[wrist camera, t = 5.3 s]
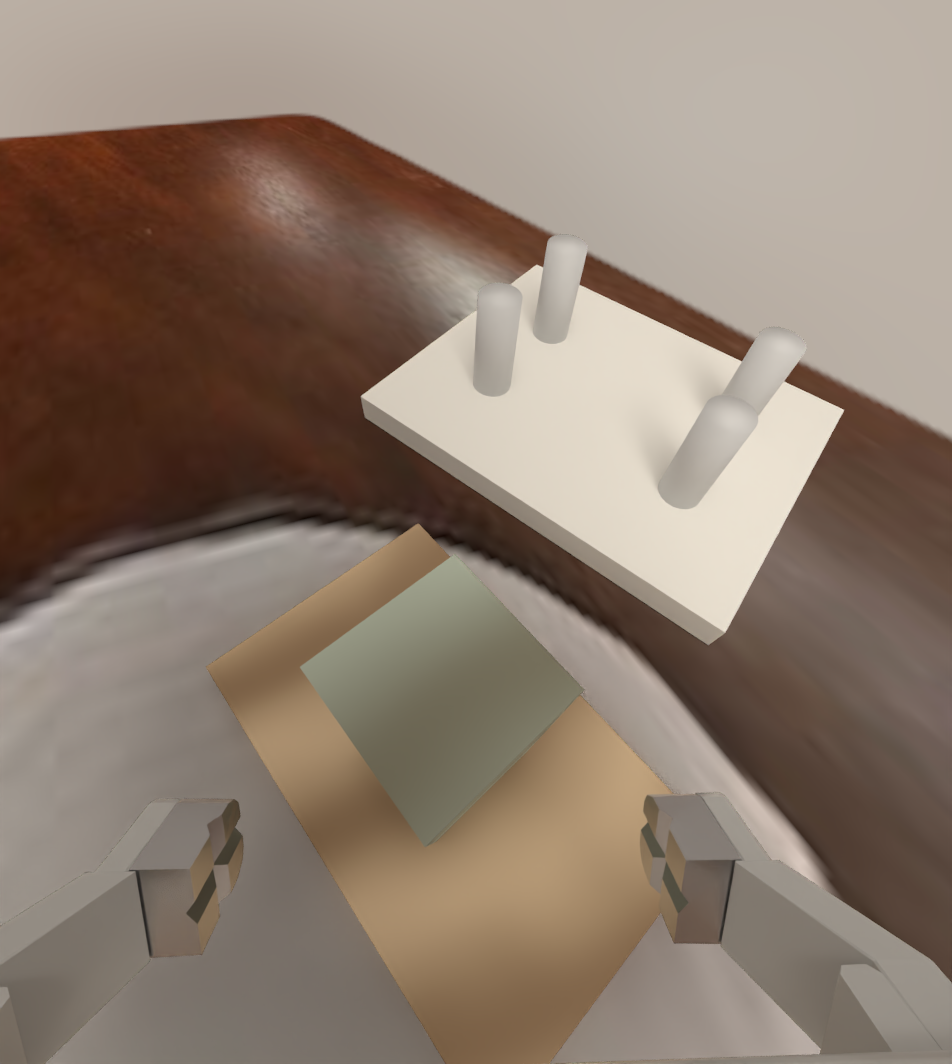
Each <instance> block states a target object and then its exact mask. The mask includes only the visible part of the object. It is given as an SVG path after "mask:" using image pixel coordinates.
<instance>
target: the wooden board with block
mask: <svg viewBox="0 0 952 1064" xmlns="http://www.w3.org/2000/svg"><path fill="white" fill-rule="evenodd" d="M206 668H207V670H208V672H209V673H210V675H211V676H212V678H213V680H214V681H215V683H216V685H217V686H218V688H219V690H220V691H221V693H222V695H223V696H224V698H225V700H226V701H227V703H228V705H229V706H230V708H231V710H232V711H233V713H234V715H235V716H236V718H237V720H238V721H239V723H240V724H241V726H242V728H243V729H244V731H245V733H246V734H247V736H248V738H249V739H250V741H251V743H252V744H253V746H254V748H255V749H256V751H257V753H258V754H259V756H260V758H261V759H262V761H263V763H264V764H265V766H266V767H267V769H268V771H269V772H270V774H271V776H272V777H273V779H274V781H275V782H276V784H277V786H278V787H279V789H280V791H281V792H282V794H283V796H284V797H285V799H286V801H287V802H288V804H289V806H290V807H291V809H292V811H293V812H294V814H295V815H296V817H297V819H298V820H299V822H300V824H301V825H302V827H303V829H304V830H305V832H306V834H307V835H308V837H309V839H310V840H311V842H312V844H313V845H314V847H315V849H316V850H317V852H318V854H319V855H320V857H321V859H322V860H323V862H324V863H325V865H326V867H327V868H328V870H329V872H330V873H331V875H332V877H333V878H334V880H335V882H336V883H337V885H338V887H339V888H340V890H341V892H342V893H343V895H344V897H345V898H346V900H347V902H348V903H349V905H350V907H351V908H352V910H353V911H354V913H355V915H356V916H357V918H358V920H359V921H360V923H361V925H362V926H363V928H364V930H365V931H366V933H367V935H368V936H369V938H370V940H371V941H372V943H373V945H374V946H375V948H376V950H377V951H378V953H379V955H380V956H381V958H382V959H383V961H384V963H385V964H386V966H387V968H388V969H389V971H390V973H391V974H392V976H393V978H394V979H395V981H396V983H397V984H398V986H399V988H400V989H401V991H402V993H403V994H404V996H405V998H406V999H407V1001H408V1002H409V1004H410V1006H411V1007H412V1009H413V1011H414V1012H415V1014H416V1016H417V1017H418V1019H419V1021H420V1022H421V1024H422V1026H423V1027H424V1029H425V1031H426V1032H427V1034H428V1036H429V1037H430V1039H431V1041H432V1042H433V1044H434V1046H435V1047H436V1049H437V1050H438V1052H439V1054H440V1055H441V1057H442V1059H443V1060H444V1062H445V1064H549V1063H550V1062H551V1060H552V1059H553V1058H554V1056H555V1055H556V1054H557V1052H558V1051H559V1050H560V1048H561V1047H562V1045H563V1044H564V1043H565V1041H566V1040H567V1039H568V1037H569V1036H570V1035H571V1033H572V1032H573V1031H574V1029H575V1028H576V1027H577V1025H578V1024H579V1022H580V1021H581V1020H582V1018H583V1017H584V1016H585V1014H586V1013H587V1012H588V1010H589V1009H590V1008H591V1006H592V1005H593V1004H594V1002H595V1001H596V999H597V998H598V997H599V995H600V994H601V993H602V991H603V990H604V989H605V987H606V986H607V985H608V983H609V982H610V980H611V979H612V978H613V976H614V975H615V974H616V972H617V971H618V970H619V968H620V967H621V966H622V964H623V963H624V962H625V960H626V959H627V957H628V956H629V955H630V953H631V952H632V951H633V949H634V948H635V947H636V945H637V944H638V943H639V941H640V940H641V939H642V937H643V936H644V934H645V933H646V932H647V930H648V929H649V928H650V926H651V925H652V924H653V922H654V921H655V920H656V918H657V917H658V915H659V914H660V913H661V911H660V909H659V902H660V893H659V892H657V891H656V890H655V889H654V888H653V887H652V886H650V885H649V882H648V879H647V877H646V874H645V872H644V868H643V864H642V861H641V852H640V833H641V829H642V828H643V827H644V826H645V825H646V823H647V822H648V821H647V819H646V817H645V815H644V812H643V807H644V800H645V798H646V796H647V795H650V794H673V793H672V792H671V791H670V790H669V789H668V787H667V786H666V785H665V784H664V783H663V782H662V781H661V780H660V779H659V778H658V777H657V776H656V775H655V774H654V773H653V772H652V771H651V769H650V768H649V767H648V766H647V765H646V764H645V763H644V762H643V761H642V760H641V759H640V758H639V757H638V756H637V755H636V754H635V752H634V751H633V750H632V749H631V748H630V747H629V746H628V745H627V744H626V743H625V742H624V741H623V740H622V739H621V738H620V737H619V736H618V734H617V733H616V732H615V731H614V730H613V729H612V728H611V727H610V726H609V725H608V724H607V723H606V722H605V721H604V720H603V719H602V718H601V716H600V715H599V714H598V713H597V712H596V711H595V710H594V709H593V708H592V707H591V706H590V705H589V704H588V703H587V702H586V701H585V700H584V698H583V697H582V696H581V695H580V694H581V693H582V692H583V691H584V689H583V688H582V687H581V686H580V685H579V684H578V683H577V682H576V681H575V680H574V678H573V677H572V676H571V675H570V674H569V673H568V672H567V671H566V670H565V669H564V668H563V667H562V666H561V665H560V664H559V663H558V662H557V661H556V660H555V658H554V657H553V656H552V655H551V654H550V653H549V652H548V651H547V650H546V649H545V648H544V647H543V646H542V645H541V644H540V643H539V642H538V641H537V640H536V639H535V637H534V636H533V635H532V634H531V633H530V632H529V631H528V630H527V629H526V628H525V627H524V626H523V625H522V624H521V623H520V622H519V621H518V620H517V619H516V618H515V616H514V615H513V614H512V613H511V612H510V611H509V610H508V609H507V608H506V607H505V606H504V605H503V604H502V603H501V602H500V601H499V600H498V599H497V598H496V597H495V595H494V594H493V593H492V592H491V591H490V590H489V589H488V588H487V587H486V586H485V585H484V584H483V583H482V582H481V581H480V580H479V579H478V578H477V577H476V576H475V574H474V573H473V572H472V571H471V570H470V569H469V568H468V567H467V566H466V565H465V564H464V563H463V562H462V561H461V560H460V559H459V558H458V557H457V556H456V555H455V554H454V555H453V556H451V557H450V556H449V555H448V554H447V553H446V552H445V551H444V550H443V549H442V548H441V547H440V546H439V545H438V544H437V543H436V542H435V541H434V539H433V538H432V537H431V536H430V535H429V534H428V533H427V532H426V531H425V530H424V529H423V528H422V527H421V526H420V525H419V524H417V525H415V526H414V527H412V528H411V529H409V530H408V531H406V532H405V533H403V534H402V535H400V536H399V537H397V538H396V539H394V540H393V541H392V542H390V543H389V544H387V545H386V546H384V547H383V548H381V549H380V550H378V551H377V552H375V553H374V554H372V555H371V556H369V557H368V558H366V559H365V560H363V561H362V562H360V563H359V564H357V565H356V566H354V567H353V568H352V569H350V570H349V571H347V572H346V573H344V574H343V575H341V576H340V577H338V578H337V579H335V580H334V581H332V582H331V583H329V584H328V585H326V586H325V587H323V588H322V589H320V590H319V591H317V592H316V593H314V594H313V595H311V596H310V597H309V598H307V599H306V600H304V601H303V602H301V603H300V604H298V605H297V606H295V607H294V608H292V609H291V610H289V611H288V612H286V613H285V614H283V615H282V616H280V617H279V618H277V619H276V620H274V621H273V622H271V623H270V624H269V625H267V626H266V627H264V628H263V629H261V630H260V631H258V632H257V633H255V634H254V635H252V636H251V637H249V638H248V639H246V640H245V641H243V642H242V643H240V644H239V645H237V646H236V647H234V648H233V649H231V650H230V651H229V652H227V653H226V654H224V655H223V656H221V657H220V658H218V659H217V660H215V661H214V662H212V663H211V664H209V665H208V666H206Z"/></svg>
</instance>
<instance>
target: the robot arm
mask: <svg viewBox="0 0 952 1064" xmlns="http://www.w3.org/2000/svg"><path fill="white" fill-rule="evenodd" d="M643 812H644V815H645V817H646V819H647V821H648V822H647V823H646V825H645V826H644V827H643V828H642V829H641V833H640V852H641V861H642V864H643V868H644V872H645V874H646V877H647V879H648V882H649V885H650V886H652V887H653V888H654V889H655V890H656V891H657V892H659V893H660V902H659V909H660V911H661V914H662V916H663V918H664V921H665V923H666V926H667V928H668V930H669V933H670V935H671V937H672V940H673V942H674V943H693V944H721V947H722V948H723V949H724V950H725V952H726V953H727V954H728V955H729V956H730V957H731V958H732V959H733V960H734V961H735V962H736V963H737V964H738V965H739V966H740V967H741V968H742V969H743V970H744V971H745V972H746V973H747V974H748V975H749V976H750V977H751V978H752V979H753V980H754V981H755V982H756V983H757V984H758V985H759V986H760V987H761V988H762V989H763V990H764V991H765V992H766V993H767V994H768V995H769V996H770V997H771V998H772V999H773V1000H774V1002H775V1003H776V1004H777V1005H778V1006H779V1007H780V1008H781V1009H782V1010H783V1011H784V1012H785V1013H786V1014H787V1015H788V1016H789V1017H790V1018H791V1019H792V1020H793V1021H794V1022H795V1023H796V1024H797V1025H798V1026H799V1027H800V1028H801V1029H802V1030H803V1031H804V1032H805V1033H806V1034H807V1035H808V1036H809V1037H810V1038H811V1039H812V1040H813V1041H814V1042H815V1043H816V1044H817V1045H818V1046H819V1047H820V1048H821V1050H820V1054H812V1055H783V1056H754V1057H724V1058H695V1059H667V1060H639V1061H611V1062H584V1063H556V1064H952V983H951V982H950V980H949V979H948V978H947V977H946V976H945V975H944V974H943V972H942V971H941V970H940V969H939V968H938V967H937V966H936V964H935V963H934V962H933V961H932V960H931V959H929V958H928V957H926V956H924V955H923V954H921V953H920V952H918V951H917V950H915V949H914V948H912V947H911V946H909V945H908V944H906V943H905V942H903V941H902V940H900V939H899V938H897V937H896V936H894V935H892V934H891V933H889V932H888V931H886V930H885V929H883V928H882V927H880V926H879V925H877V924H876V923H874V922H873V921H871V920H870V919H868V918H867V917H865V916H864V915H862V914H860V913H859V912H857V911H856V910H854V909H853V908H851V907H850V906H848V905H847V904H845V903H844V902H842V901H841V900H839V899H838V898H836V897H835V896H833V895H831V894H830V893H828V892H827V891H825V890H824V889H822V888H821V887H819V886H818V885H816V884H815V883H813V882H812V881H810V880H809V879H807V878H806V877H804V876H803V875H801V874H799V873H798V872H796V871H795V870H793V869H792V868H790V867H789V866H787V865H786V864H784V863H783V862H781V861H780V860H771V859H770V857H769V856H768V855H767V853H766V852H765V850H764V849H763V848H762V846H761V845H760V843H759V842H758V841H757V839H756V838H755V836H754V835H753V834H752V832H751V831H750V829H749V828H748V827H747V825H746V824H745V822H744V821H743V820H742V818H741V817H740V815H739V814H738V813H737V811H736V810H735V809H734V807H733V806H732V804H731V803H730V802H729V800H728V799H727V797H726V796H725V795H723V794H722V793H720V792H716V793H696V794H650V795H647V796H646V798H645V800H644V807H643ZM239 818H240V810H239V803H238V801H236V800H234V799H156V800H154V801H153V802H151V803H150V804H149V805H148V806H147V807H146V808H145V809H144V811H143V812H142V813H141V815H140V816H139V817H138V818H137V820H136V821H135V822H134V823H133V825H132V826H131V827H130V828H129V830H128V831H127V832H126V833H125V835H124V836H123V837H122V838H121V840H120V841H119V842H118V843H117V845H116V846H115V847H114V849H113V850H112V851H111V852H110V854H109V855H108V856H107V857H106V859H105V860H104V861H103V862H102V864H101V865H100V866H99V867H98V869H97V870H96V871H95V872H86V873H84V874H83V875H81V876H79V877H78V878H76V879H75V880H73V881H71V882H70V883H68V884H67V885H65V886H63V887H62V888H60V889H59V890H57V891H55V892H54V893H52V894H51V895H49V896H47V897H46V898H44V899H43V900H41V901H39V902H38V903H36V904H35V905H33V906H31V907H30V908H28V909H27V910H25V911H23V912H22V913H20V914H19V915H17V916H15V917H14V918H12V919H11V920H9V921H7V922H6V923H4V924H3V925H1V926H0V1064H45V1063H46V1062H47V1061H48V1060H49V1059H50V1058H51V1057H52V1056H53V1055H54V1054H55V1053H56V1052H57V1051H58V1050H59V1049H60V1048H61V1047H62V1046H63V1045H64V1044H65V1043H66V1042H67V1041H68V1040H69V1039H71V1038H72V1037H73V1036H74V1035H75V1034H76V1033H77V1032H78V1031H79V1030H80V1029H81V1028H82V1027H83V1026H84V1025H85V1024H86V1023H87V1022H88V1021H89V1020H90V1019H91V1018H92V1017H93V1016H94V1015H95V1014H96V1013H97V1012H98V1011H99V1010H100V1009H101V1008H102V1007H103V1006H104V1005H106V1004H107V1003H108V1002H109V1001H110V1000H111V999H112V998H113V997H114V996H115V995H116V994H117V993H118V992H119V991H120V990H121V989H122V988H123V987H124V986H125V985H126V984H127V983H128V982H129V981H130V980H131V979H132V978H133V977H134V976H135V975H136V974H137V973H138V972H140V971H141V970H142V969H143V968H144V967H145V966H146V965H147V964H148V963H149V962H150V958H155V957H172V956H190V955H202V953H203V951H204V949H205V947H206V945H207V943H208V940H209V938H210V936H211V934H212V932H213V930H214V928H215V926H216V924H217V922H218V919H219V917H220V913H219V904H218V903H219V902H221V901H222V900H223V899H224V898H225V897H227V896H228V895H229V894H230V893H231V892H232V890H233V887H234V885H235V883H236V881H237V878H238V875H239V871H240V867H241V864H242V859H243V836H242V835H241V833H240V832H239V831H238V830H237V829H236V828H235V826H236V824H237V822H238V820H239Z"/></svg>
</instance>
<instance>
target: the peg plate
mask: <svg viewBox="0 0 952 1064" xmlns="http://www.w3.org/2000/svg"><path fill="white" fill-rule="evenodd" d="M587 249H588V246H587V244H586V242H585V241H584V240H583V239H581V238H579V237H577V236H574V235H568V234H560V235H555V236H553V237H551V238H550V239H549V240H548V243H547V249H546V255H545V261H544V267H540V266H538V265H536V266H534V267H533V268H532V269H530V270H529V271H528V272H526V273H525V274H524V275H522V276H521V277H520V278H518V279H517V280H516V281H514V282H513V283H512V284H510V285H509V284H506V283H490V284H487V285H485V286H483V287H482V288H481V289H480V290H479V291H478V299H477V310H476V311H474V312H473V313H472V314H470V315H469V316H468V317H466V318H465V319H463V320H462V321H461V322H459V323H458V324H457V325H455V326H454V327H453V328H451V329H450V330H449V331H447V332H446V333H445V334H443V335H442V336H441V337H439V338H438V339H437V340H435V341H434V342H433V343H431V344H430V345H429V346H427V347H426V348H425V349H423V350H422V351H421V352H419V353H418V354H417V355H415V356H414V357H413V358H411V359H410V360H409V361H407V362H406V363H405V364H403V365H402V366H401V367H399V368H398V369H397V370H395V371H394V372H393V373H391V374H390V375H389V376H387V377H386V378H385V379H383V380H382V381H381V382H379V383H378V384H377V385H375V386H374V387H373V388H371V389H370V390H368V391H367V392H366V393H364V394H363V395H362V396H361V401H362V406H363V411H364V416H365V418H366V419H368V420H369V421H371V422H372V423H374V424H375V425H377V426H378V427H380V428H381V429H383V430H384V431H386V432H387V433H389V434H390V435H392V436H394V437H395V438H397V439H398V440H400V441H401V442H403V443H404V444H406V445H407V446H409V447H410V448H412V449H413V450H415V451H416V452H418V453H419V454H421V455H422V456H424V457H425V458H427V459H428V460H430V461H431V462H433V463H434V464H436V465H437V466H439V467H440V468H442V469H443V470H445V471H446V472H448V473H449V474H451V475H452V476H454V477H455V478H457V479H458V480H460V481H461V482H463V483H464V484H466V485H467V486H469V487H470V488H472V489H473V490H475V491H476V492H478V493H479V494H481V495H482V496H484V497H485V498H487V499H488V500H490V501H492V502H493V503H495V504H496V505H498V506H499V507H501V508H502V509H504V510H505V511H507V512H508V513H510V514H511V515H513V516H514V517H516V518H517V519H519V520H520V521H522V522H523V523H525V524H526V525H528V526H529V527H531V528H532V529H534V530H535V531H537V532H538V533H540V534H541V535H543V536H544V537H546V538H547V539H549V540H550V541H552V542H553V543H555V544H556V545H558V546H559V547H561V548H562V549H564V550H565V551H567V552H568V553H570V554H571V555H573V556H574V557H576V558H577V559H579V560H580V561H582V562H583V563H585V564H586V565H588V566H590V567H591V568H593V569H594V570H596V571H597V572H599V573H600V574H602V575H603V576H605V577H606V578H608V579H609V580H611V581H612V582H614V583H615V584H617V585H618V586H620V587H621V588H623V589H624V590H626V591H627V592H629V593H630V594H632V595H633V596H635V597H636V598H638V599H639V600H641V601H642V602H644V603H645V604H647V605H648V606H650V607H651V608H653V609H654V610H656V611H657V612H659V613H660V614H662V615H663V616H665V617H666V618H668V619H669V620H671V621H672V622H674V623H675V624H677V625H678V626H680V627H681V628H683V629H684V630H686V631H688V632H689V633H691V634H692V635H694V636H695V637H697V638H698V639H700V640H701V641H703V642H704V643H706V644H707V645H709V644H711V643H712V642H713V641H715V640H716V639H717V638H719V637H720V636H721V635H723V634H724V633H725V632H726V630H727V628H728V627H729V625H730V623H731V621H732V619H733V617H734V615H735V613H736V612H737V610H738V608H739V606H740V604H741V602H742V600H743V598H744V597H745V595H746V593H747V591H748V589H749V587H750V585H751V583H752V582H753V580H754V578H755V576H756V574H757V572H758V570H759V569H760V567H761V565H762V563H763V561H764V559H765V557H766V555H767V554H768V552H769V550H770V548H771V546H772V544H773V542H774V540H775V539H776V537H777V535H778V533H779V531H780V529H781V527H782V525H783V524H784V522H785V520H786V518H787V516H788V514H789V512H790V510H791V509H792V507H793V505H794V503H795V501H796V499H797V497H798V495H799V494H800V492H801V490H802V488H803V486H804V484H805V482H806V480H807V479H808V477H809V475H810V473H811V471H812V469H813V467H814V466H815V464H816V462H817V460H818V458H819V456H820V454H821V452H822V451H823V449H824V447H825V445H826V443H827V441H828V439H829V437H830V436H831V434H832V432H833V430H834V428H835V426H836V424H837V422H838V421H839V419H840V417H841V415H842V413H843V411H844V410H843V409H841V408H839V407H837V406H834V405H832V404H830V403H828V402H826V401H824V400H822V399H820V398H818V397H815V396H813V395H811V394H809V393H807V392H805V391H803V390H801V389H799V388H796V387H794V386H792V385H790V384H788V383H786V382H784V380H785V379H786V378H787V376H788V375H789V374H790V372H791V371H792V370H793V368H794V367H795V365H796V364H797V363H798V361H799V360H800V359H801V357H802V356H803V354H804V353H805V352H806V349H807V346H806V343H805V341H804V340H803V339H802V338H801V337H800V336H799V335H798V334H796V333H794V332H793V331H790V330H788V329H785V328H781V327H769V328H765V329H763V330H762V331H761V332H760V334H759V335H758V337H757V338H756V340H755V341H754V343H753V345H752V346H751V348H750V350H749V351H748V353H747V354H746V356H745V358H744V359H743V361H742V362H741V361H739V360H737V359H735V358H733V357H731V356H729V355H727V354H724V353H722V352H720V351H718V350H716V349H714V348H712V347H710V346H708V345H705V344H703V343H701V342H699V341H697V340H695V339H693V338H691V337H689V336H686V335H684V334H682V333H680V332H678V331H676V330H674V329H672V328H669V327H667V326H665V325H663V324H661V323H659V322H657V321H655V320H653V319H650V318H648V317H646V316H644V315H642V314H640V313H638V312H636V311H634V310H631V309H629V308H627V307H625V306H623V305H621V304H619V303H617V302H614V301H612V300H610V299H608V298H606V297H604V296H602V295H600V294H598V293H595V292H593V291H591V290H589V289H587V288H585V287H583V286H581V285H579V283H580V279H581V275H582V270H583V266H584V262H585V258H586V254H587Z"/></svg>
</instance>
